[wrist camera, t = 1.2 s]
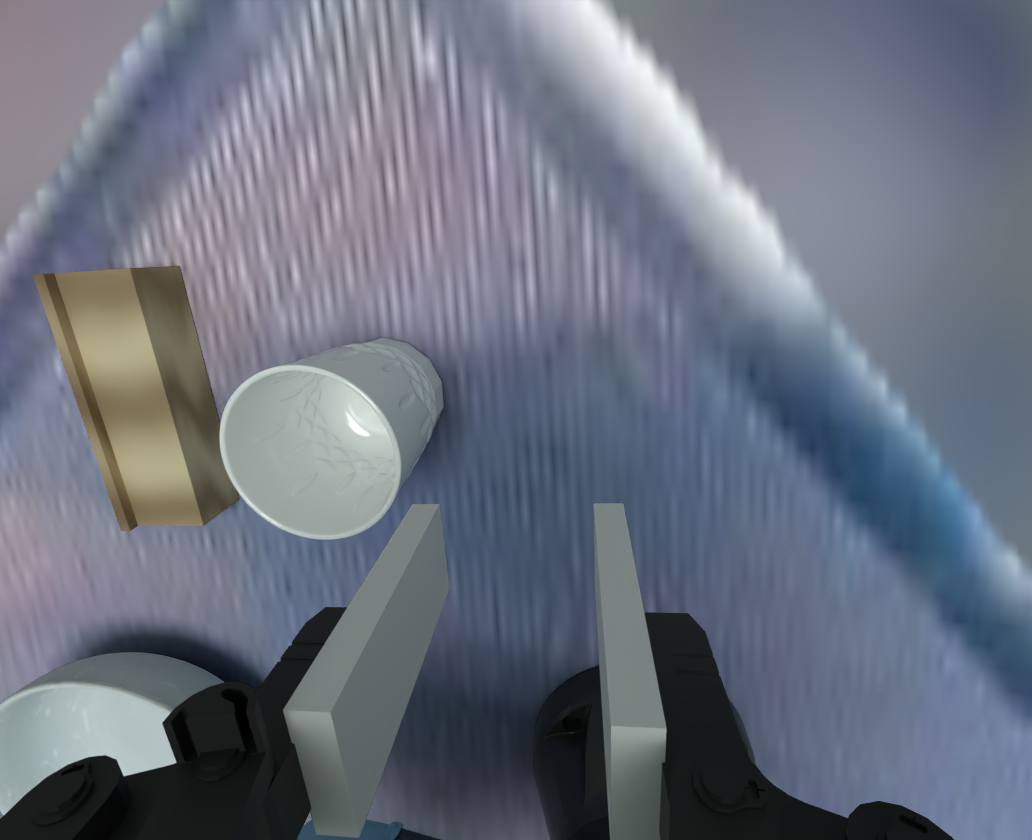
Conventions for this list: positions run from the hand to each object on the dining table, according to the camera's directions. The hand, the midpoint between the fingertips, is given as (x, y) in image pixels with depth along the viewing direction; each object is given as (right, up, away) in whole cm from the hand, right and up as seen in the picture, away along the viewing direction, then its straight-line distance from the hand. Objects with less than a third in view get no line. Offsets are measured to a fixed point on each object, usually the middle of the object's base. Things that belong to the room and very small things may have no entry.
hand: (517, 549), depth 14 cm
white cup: (-8, +5, +17) cm, 19 cm away
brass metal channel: (-22, +5, +18) cm, 29 cm away
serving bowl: (-27, -21, +28) cm, 44 cm away
